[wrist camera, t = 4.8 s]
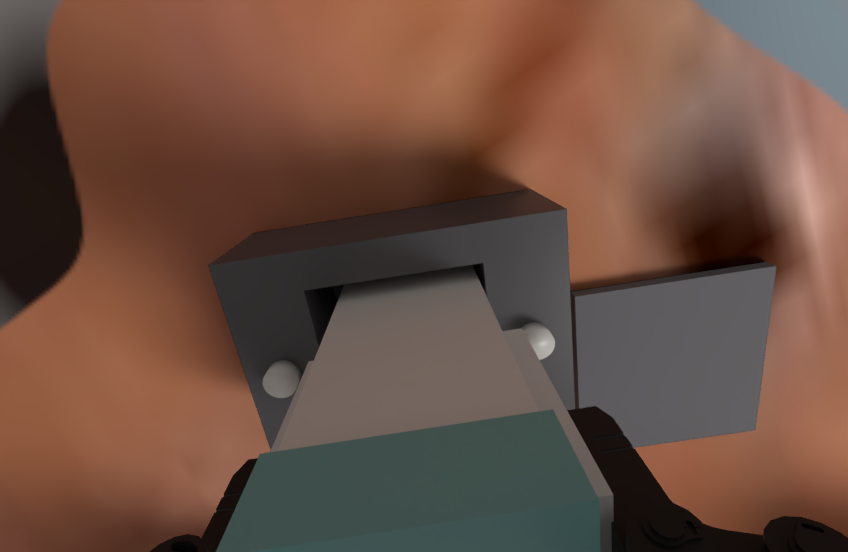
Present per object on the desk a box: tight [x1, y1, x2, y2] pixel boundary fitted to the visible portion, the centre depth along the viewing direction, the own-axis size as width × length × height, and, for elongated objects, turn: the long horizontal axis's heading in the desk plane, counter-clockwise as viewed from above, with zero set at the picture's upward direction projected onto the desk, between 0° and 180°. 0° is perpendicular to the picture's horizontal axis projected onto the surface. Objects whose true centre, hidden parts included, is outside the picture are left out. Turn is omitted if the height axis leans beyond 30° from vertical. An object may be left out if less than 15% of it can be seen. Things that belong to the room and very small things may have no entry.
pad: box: [570, 262, 776, 448], centre depth 21 cm, size 9×9×1 cm
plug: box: [216, 265, 601, 552], centre depth 13 cm, size 5×5×13 cm
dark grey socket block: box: [208, 189, 575, 449], centre depth 18 cm, size 12×9×5 cm
